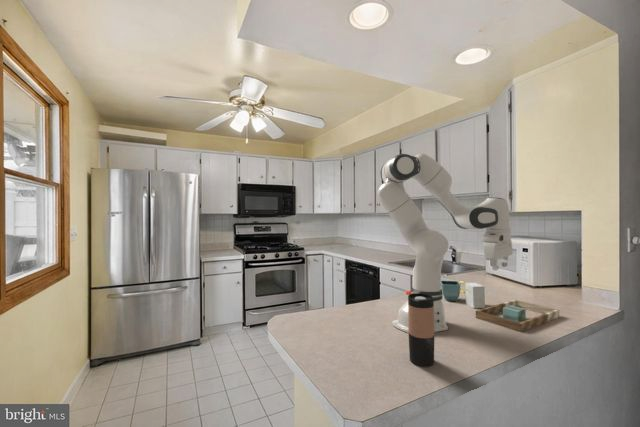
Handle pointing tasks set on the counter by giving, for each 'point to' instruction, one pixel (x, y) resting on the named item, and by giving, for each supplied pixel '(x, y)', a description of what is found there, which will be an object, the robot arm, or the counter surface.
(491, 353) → the counter surface
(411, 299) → the travel mug
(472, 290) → the small box
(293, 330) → the counter surface
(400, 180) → the robot arm
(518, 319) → the teal block
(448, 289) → the flower pot
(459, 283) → the watch
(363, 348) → the counter surface
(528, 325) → the striped wooden tray
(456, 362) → the counter surface
